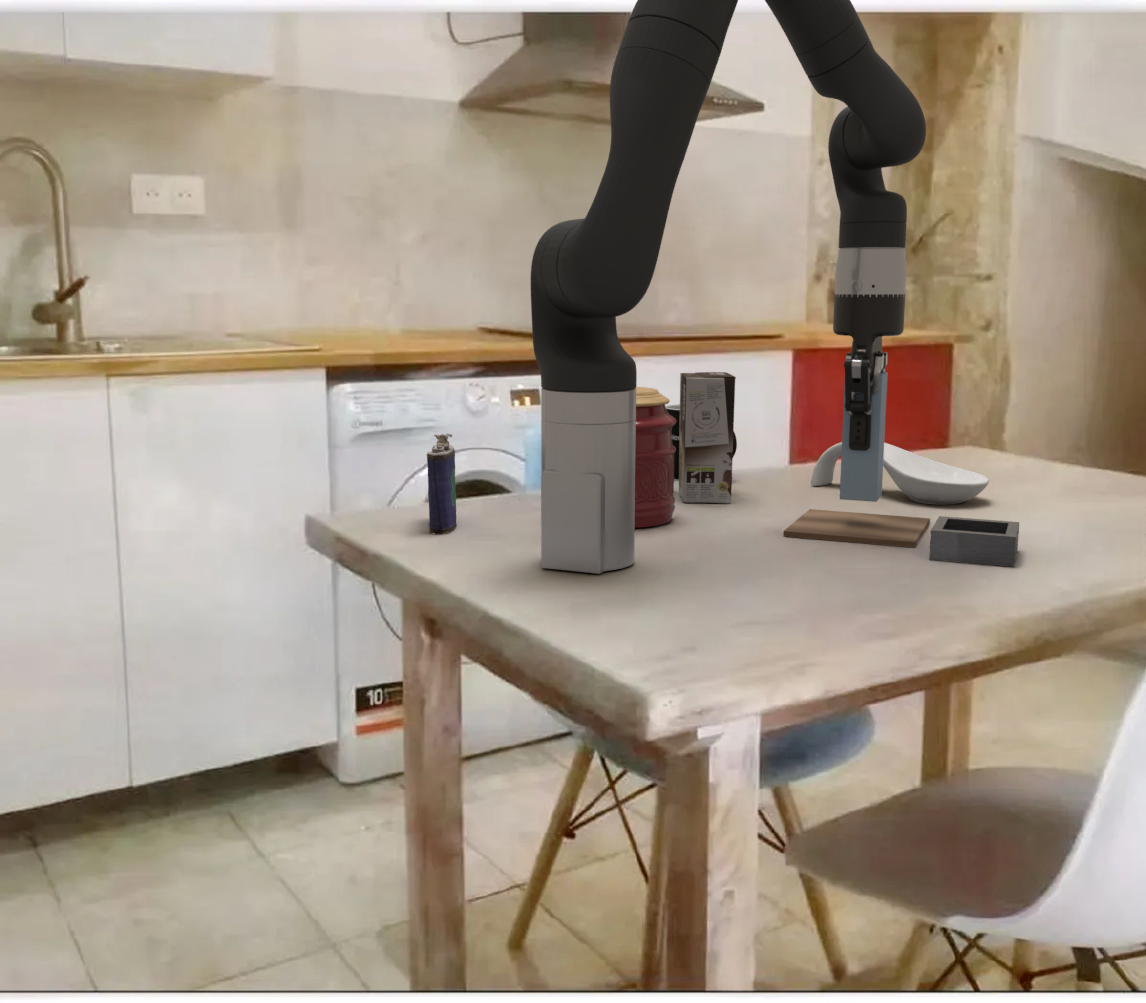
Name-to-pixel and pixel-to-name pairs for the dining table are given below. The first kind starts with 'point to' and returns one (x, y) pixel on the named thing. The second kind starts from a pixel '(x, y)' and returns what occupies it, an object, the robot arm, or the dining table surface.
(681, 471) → the coffee box
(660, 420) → the canister
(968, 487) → the spoon rest
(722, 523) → the dining table surface
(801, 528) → the board
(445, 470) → the flask
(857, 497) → the peg
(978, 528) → the collar
